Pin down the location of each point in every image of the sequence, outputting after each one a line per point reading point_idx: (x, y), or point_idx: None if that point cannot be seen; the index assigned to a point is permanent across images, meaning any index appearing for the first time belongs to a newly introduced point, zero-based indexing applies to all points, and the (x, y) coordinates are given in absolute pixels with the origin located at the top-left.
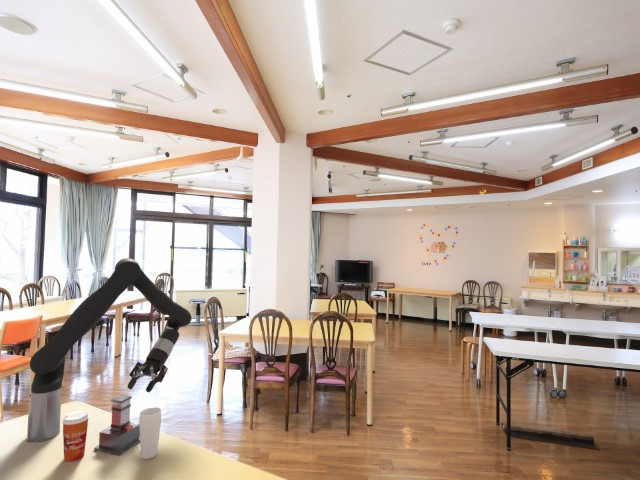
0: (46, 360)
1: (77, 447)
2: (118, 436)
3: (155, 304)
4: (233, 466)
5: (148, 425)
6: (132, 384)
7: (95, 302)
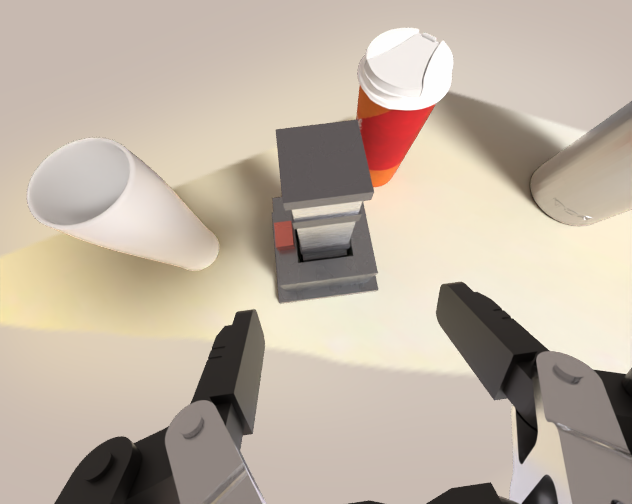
0: None
1: None
2: (278, 197)
3: None
4: None
5: (101, 174)
6: (461, 327)
7: None
